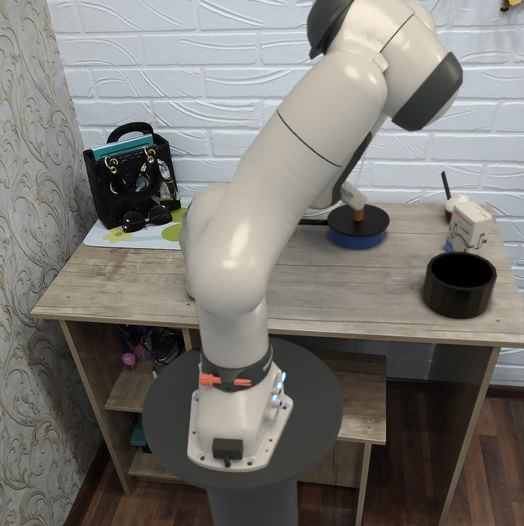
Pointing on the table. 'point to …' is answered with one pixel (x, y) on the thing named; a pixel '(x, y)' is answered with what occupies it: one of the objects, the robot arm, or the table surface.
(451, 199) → the cocoa
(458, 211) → the ink box
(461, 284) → the pot
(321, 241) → the table surface
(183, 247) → the plastic bottle
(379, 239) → the pan
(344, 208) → the lid
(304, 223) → the pan handle
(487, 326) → the table surface
